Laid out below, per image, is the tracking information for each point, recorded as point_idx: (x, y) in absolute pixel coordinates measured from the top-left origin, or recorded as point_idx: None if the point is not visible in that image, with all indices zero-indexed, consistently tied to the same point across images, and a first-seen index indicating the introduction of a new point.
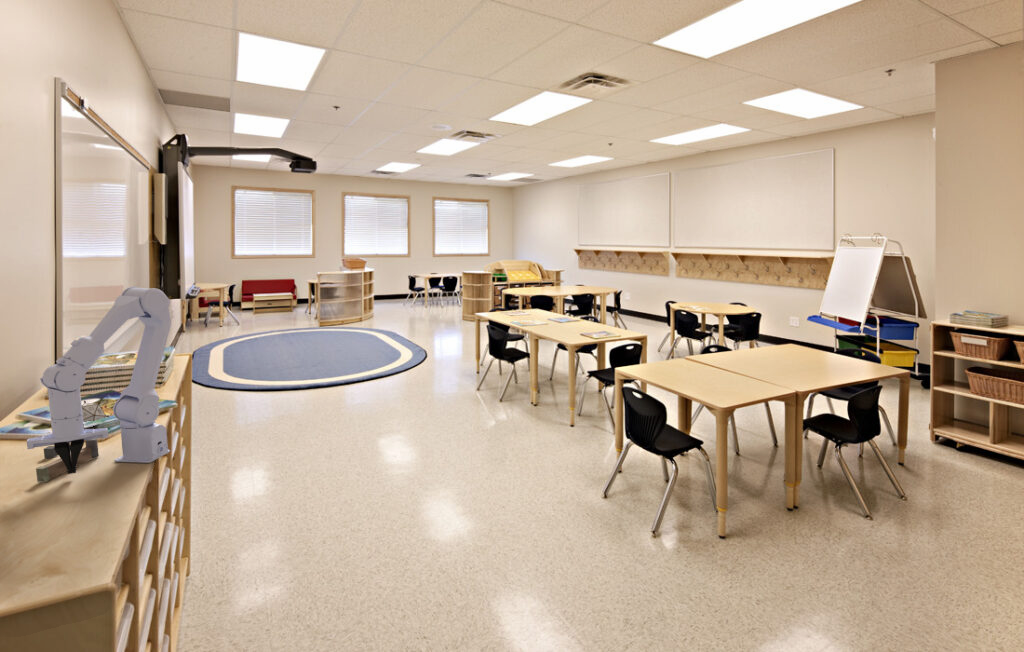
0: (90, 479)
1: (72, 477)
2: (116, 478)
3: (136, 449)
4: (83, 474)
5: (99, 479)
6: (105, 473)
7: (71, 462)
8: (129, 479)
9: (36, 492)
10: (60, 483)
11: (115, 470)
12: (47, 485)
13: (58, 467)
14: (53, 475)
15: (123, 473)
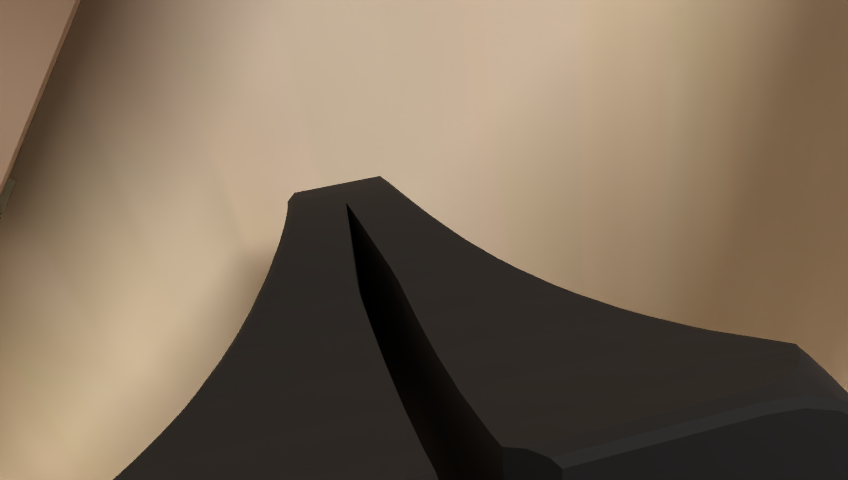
0: (528, 267)
1: (306, 127)
2: (753, 314)
3: None
4: (428, 58)
5: (612, 294)
6: (676, 128)
7: (356, 271)
8: (837, 366)
9: (40, 470)
10: (216, 292)
11: (783, 61)
12: (69, 312)
13: (57, 50)
14: (31, 120)
15: (832, 198)
